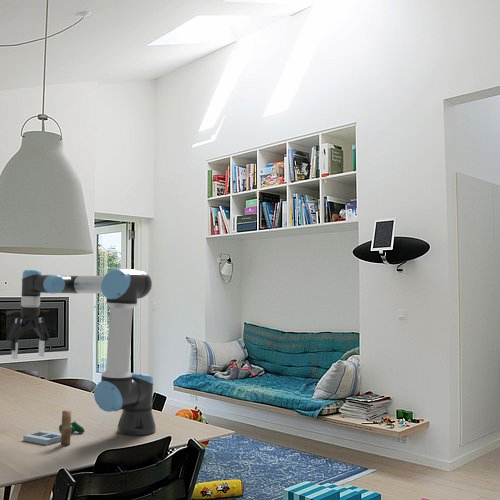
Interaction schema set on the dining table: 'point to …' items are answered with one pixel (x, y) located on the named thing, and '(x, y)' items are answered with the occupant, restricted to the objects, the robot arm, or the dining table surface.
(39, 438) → the socket board
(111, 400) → the robot arm
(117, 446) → the dining table surface
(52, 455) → the dining table surface
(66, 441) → the peg
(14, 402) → the dining table surface
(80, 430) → the gaming controller
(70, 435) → the card
